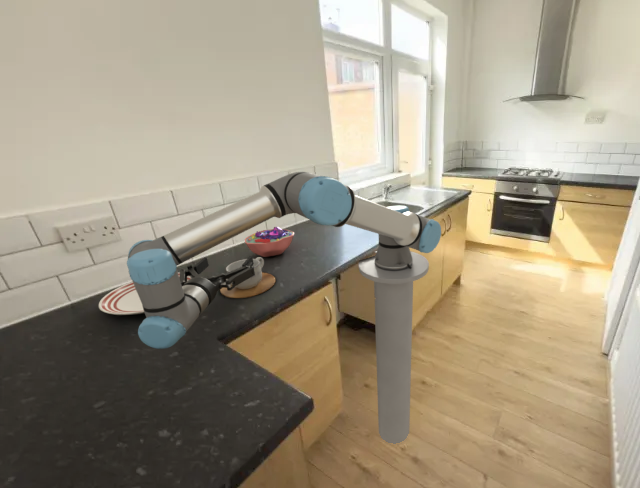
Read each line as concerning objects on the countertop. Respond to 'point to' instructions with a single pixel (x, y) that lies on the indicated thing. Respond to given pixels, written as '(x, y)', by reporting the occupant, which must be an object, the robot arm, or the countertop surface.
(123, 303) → the dinner plate
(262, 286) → the cork mat
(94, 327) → the countertop surface
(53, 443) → the countertop surface
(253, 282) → the teacup
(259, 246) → the cell model
